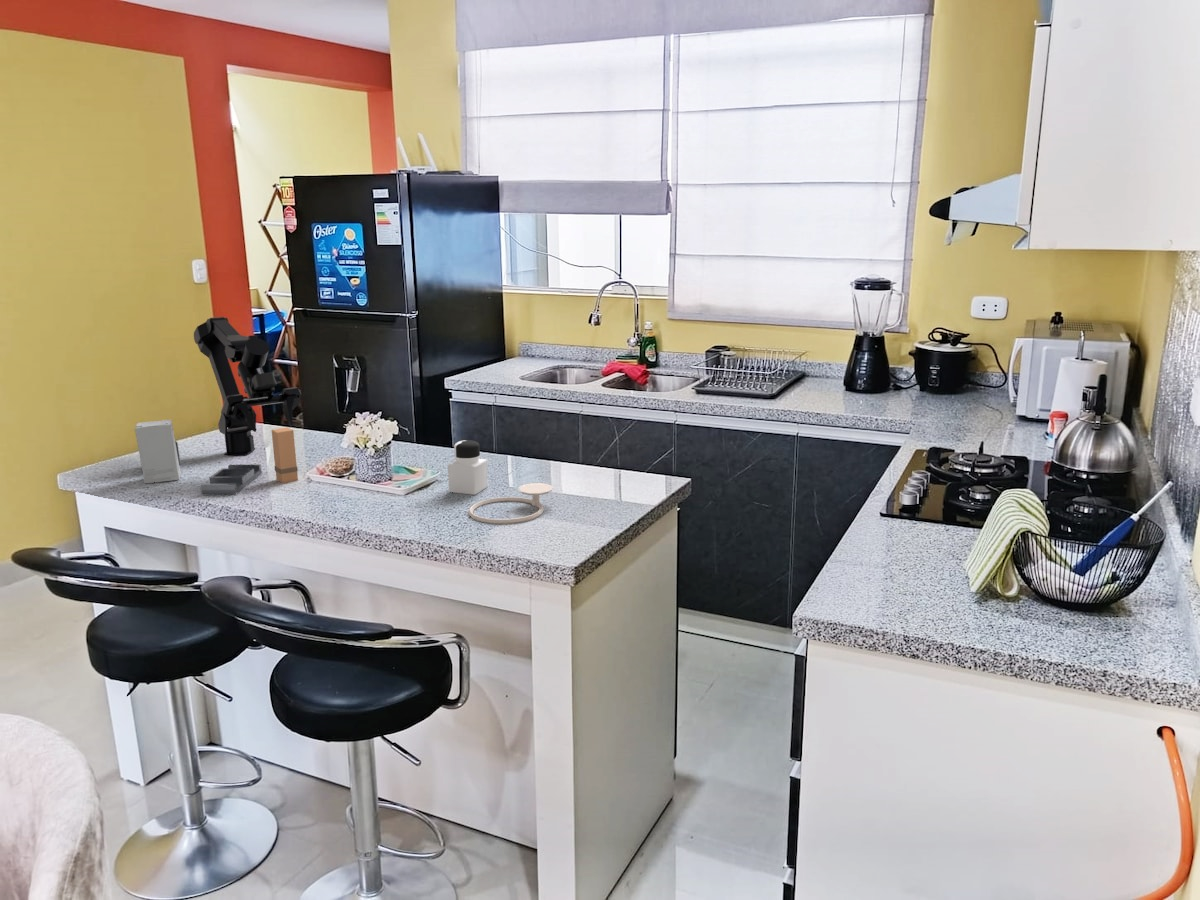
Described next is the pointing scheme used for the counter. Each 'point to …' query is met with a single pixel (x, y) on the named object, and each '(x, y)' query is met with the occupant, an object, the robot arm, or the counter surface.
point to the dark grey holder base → (231, 479)
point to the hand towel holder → (526, 489)
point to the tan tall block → (284, 455)
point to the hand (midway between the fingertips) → (273, 428)
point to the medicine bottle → (467, 469)
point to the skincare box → (157, 451)
